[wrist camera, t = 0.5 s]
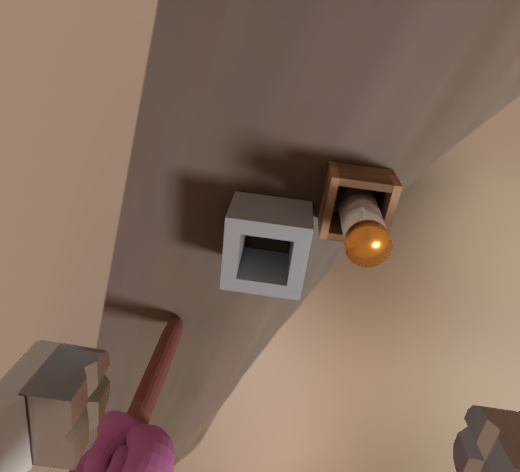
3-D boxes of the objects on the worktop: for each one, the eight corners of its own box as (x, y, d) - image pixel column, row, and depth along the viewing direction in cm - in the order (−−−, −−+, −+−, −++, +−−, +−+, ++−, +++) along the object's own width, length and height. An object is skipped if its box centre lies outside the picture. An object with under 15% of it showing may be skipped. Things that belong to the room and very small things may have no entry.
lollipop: (161, 353, 61) (56, 609, 35) (127, 320, 59) (-15, 568, 33) (230, 317, 57) (169, 580, 31) (196, 279, 54) (97, 530, 28)
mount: (329, 161, 45) (331, 177, 41) (392, 169, 45) (402, 186, 40) (317, 218, 48) (319, 238, 44) (377, 226, 48) (384, 247, 44)
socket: (235, 190, 48) (225, 217, 42) (312, 201, 47) (313, 229, 41) (229, 256, 52) (219, 289, 46) (300, 266, 52) (299, 300, 46)
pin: (339, 175, 46) (351, 224, 35) (375, 180, 46) (397, 231, 35) (332, 208, 48) (341, 263, 37) (367, 212, 48) (385, 269, 37)
